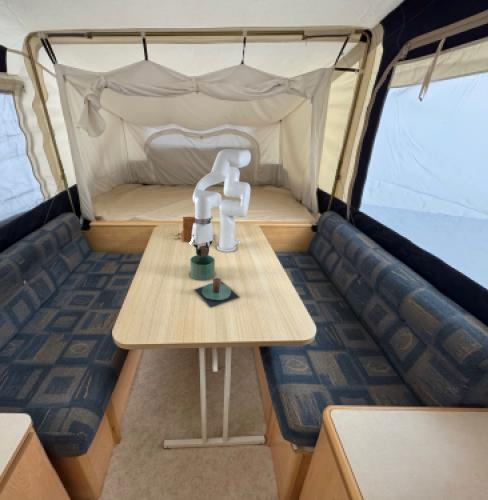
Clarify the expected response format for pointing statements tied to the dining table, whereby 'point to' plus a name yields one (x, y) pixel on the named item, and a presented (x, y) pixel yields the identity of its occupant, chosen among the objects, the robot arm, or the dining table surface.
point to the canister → (202, 267)
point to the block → (203, 251)
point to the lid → (216, 290)
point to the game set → (187, 228)
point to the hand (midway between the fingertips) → (202, 254)
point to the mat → (216, 302)
